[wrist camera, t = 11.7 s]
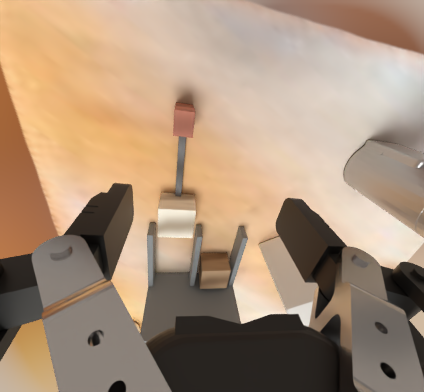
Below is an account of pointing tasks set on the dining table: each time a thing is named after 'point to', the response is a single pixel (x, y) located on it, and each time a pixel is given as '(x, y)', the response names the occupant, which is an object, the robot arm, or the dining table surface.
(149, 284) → the lane rack
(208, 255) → the walnut block
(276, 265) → the milk carton
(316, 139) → the dining table surface
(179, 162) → the corded block
